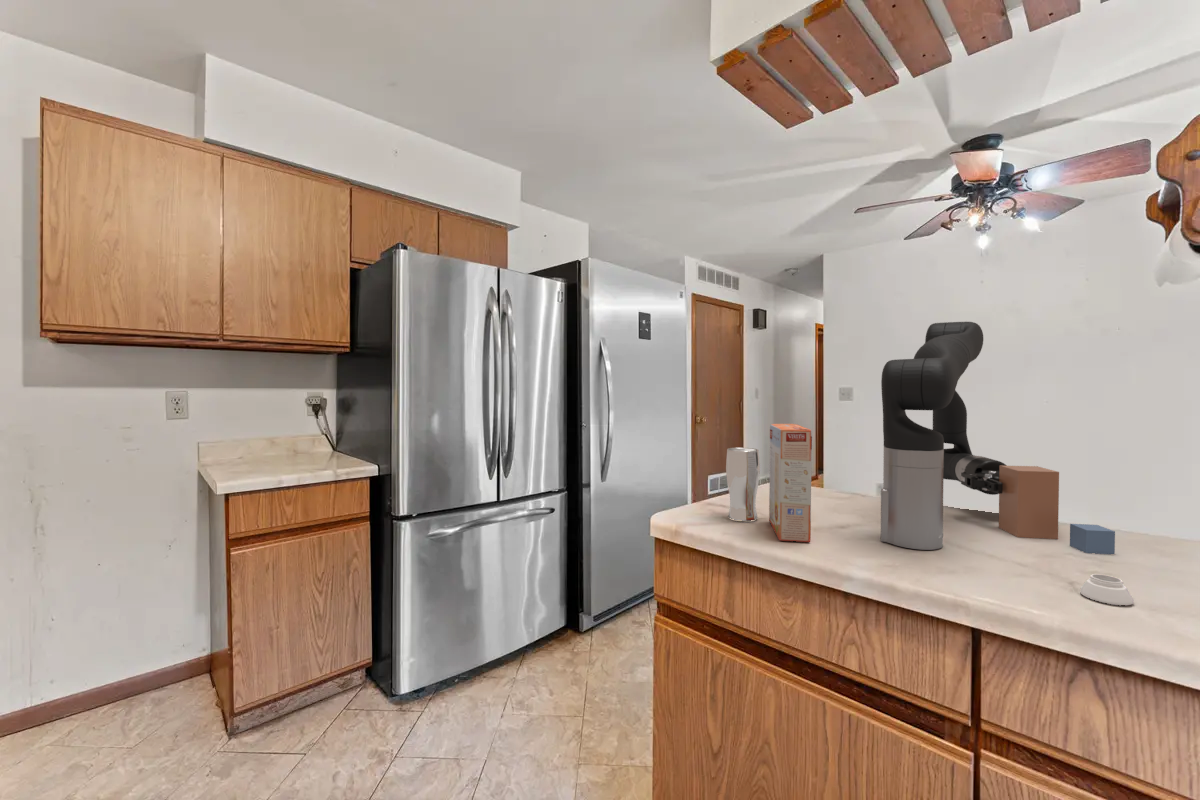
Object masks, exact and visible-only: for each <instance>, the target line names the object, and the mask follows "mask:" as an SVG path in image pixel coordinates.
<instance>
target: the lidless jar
mask: <svg viewBox="0 0 1200 800" xmlns="http://www.w3.org/2000/svg"><path fill="white" fill-rule="evenodd" d="M1079 592H1080V594H1081V595H1083V596H1084V597H1086V598H1087V599H1089V598H1090V599H1089V600H1092V601H1094V600H1095V602H1097V601H1099V602H1098V603H1101V602H1102V603H1101V604H1105V603H1107V604H1106V605H1110V604H1111V605H1110V606H1118V605H1119V606H1121V605H1125V606H1130V605H1134V603H1135V601H1134V599H1135V598H1134V597H1133V595H1132V594H1131V592H1130V590H1129V589H1128V587H1127V586H1125V585H1124V581H1123V580H1122V579H1121V578H1119V577H1116V576H1111V575H1108V574H1101V573H1093V574H1090V575H1089V578H1088V579H1086V580H1085V582H1084V583H1083V584H1082V585H1081V587H1080V589H1079ZM1119 606H1118V607H1119ZM1121 607H1122V606H1121Z"/></svg>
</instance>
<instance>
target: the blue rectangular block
mask: <svg viewBox="0 0 1200 800" xmlns="http://www.w3.org/2000/svg"><path fill="white" fill-rule="evenodd" d="M1069 547H1072V548H1074V549H1076V550H1078V551H1080V552H1082V551H1083V553H1085V554H1092V553H1095V555H1111V554H1115V553H1116V551H1115V550H1116V549H1115V548H1116V531H1115V530H1112V529H1109V528H1107V527H1105V526H1101V525H1098V524H1089V523H1087V524H1085V523H1083V524H1081V523H1069ZM1115 555H1116V554H1115Z"/></svg>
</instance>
